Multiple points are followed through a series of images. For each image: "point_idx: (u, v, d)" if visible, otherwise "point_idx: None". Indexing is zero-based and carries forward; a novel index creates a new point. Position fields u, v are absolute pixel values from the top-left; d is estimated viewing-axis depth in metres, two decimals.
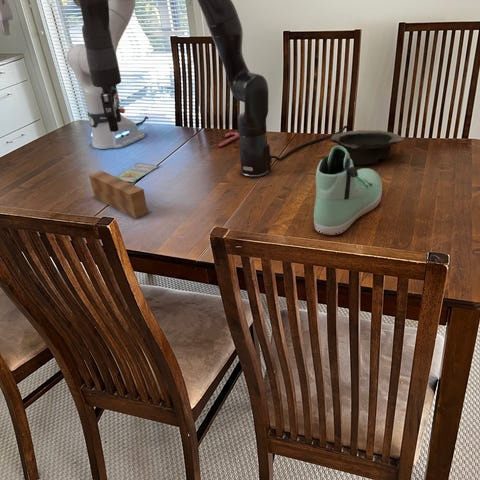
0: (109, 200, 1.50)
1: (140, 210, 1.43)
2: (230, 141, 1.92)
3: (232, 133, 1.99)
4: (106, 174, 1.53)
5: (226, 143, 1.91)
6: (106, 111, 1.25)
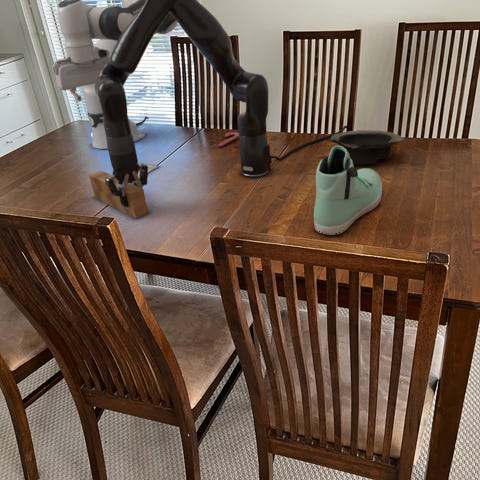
0: (109, 200, 1.50)
1: (140, 210, 1.43)
2: (230, 141, 1.92)
3: (232, 133, 1.99)
4: (106, 174, 1.53)
5: (226, 143, 1.91)
6: None
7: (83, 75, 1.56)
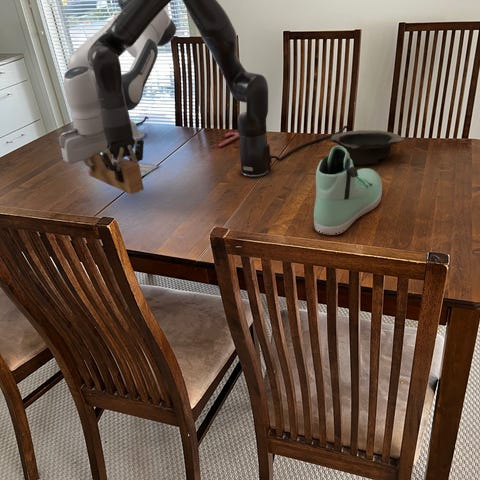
0: (104, 177, 1.46)
1: (136, 186, 1.39)
2: (230, 141, 1.92)
3: (232, 133, 1.99)
4: None
5: (226, 143, 1.91)
6: None
7: (91, 146, 1.45)
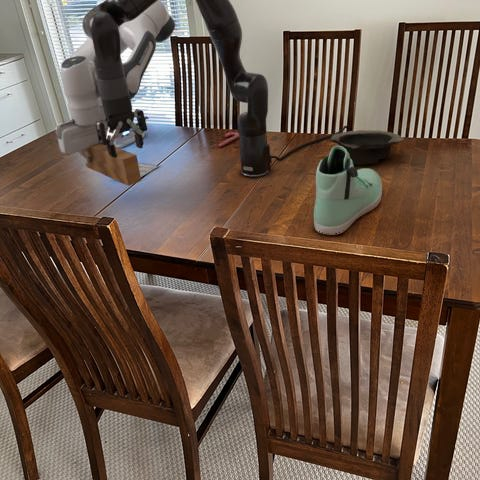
0: (101, 168, 1.45)
1: (133, 177, 1.37)
2: (230, 141, 1.92)
3: (232, 133, 1.99)
4: None
5: (226, 143, 1.91)
6: None
7: (88, 137, 1.43)
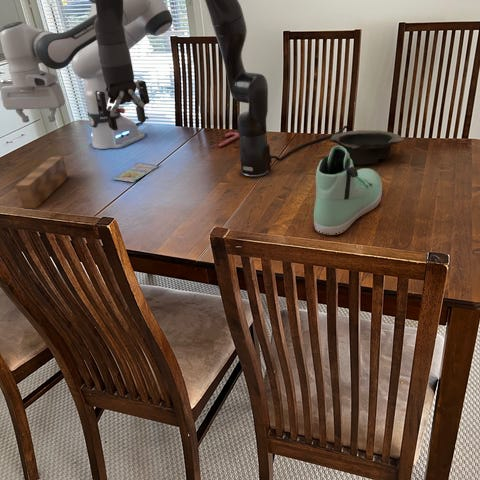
0: None
1: (27, 202, 1.53)
2: (230, 141, 1.92)
3: (232, 133, 1.99)
4: (54, 161, 1.66)
5: (226, 143, 1.91)
6: None
7: (24, 99, 1.54)
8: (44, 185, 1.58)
